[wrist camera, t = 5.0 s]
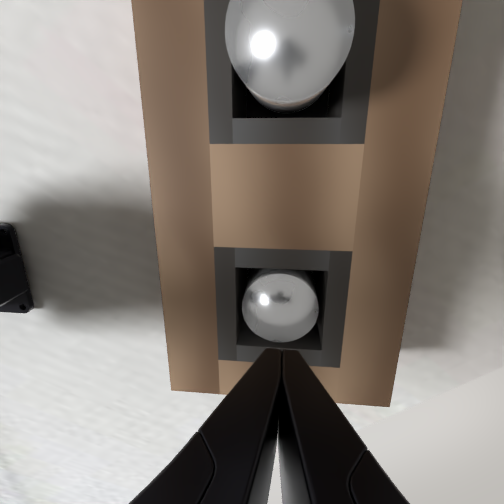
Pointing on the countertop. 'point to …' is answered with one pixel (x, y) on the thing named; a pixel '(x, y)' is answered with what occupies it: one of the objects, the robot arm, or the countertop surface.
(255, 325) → the peg tall
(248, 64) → the peg short
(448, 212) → the countertop surface
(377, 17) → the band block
